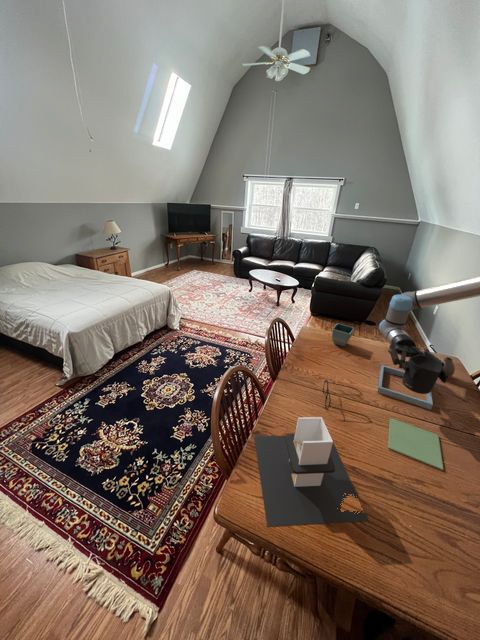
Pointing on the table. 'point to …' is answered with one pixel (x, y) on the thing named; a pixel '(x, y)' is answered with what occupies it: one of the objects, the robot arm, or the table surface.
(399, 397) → the gray square frame
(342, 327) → the flower pot
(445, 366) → the vase
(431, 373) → the pen holder
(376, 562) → the table surface
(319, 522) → the hopper stand
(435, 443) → the mat
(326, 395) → the glasses
